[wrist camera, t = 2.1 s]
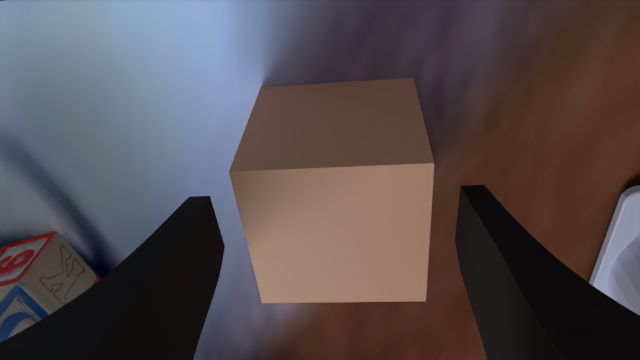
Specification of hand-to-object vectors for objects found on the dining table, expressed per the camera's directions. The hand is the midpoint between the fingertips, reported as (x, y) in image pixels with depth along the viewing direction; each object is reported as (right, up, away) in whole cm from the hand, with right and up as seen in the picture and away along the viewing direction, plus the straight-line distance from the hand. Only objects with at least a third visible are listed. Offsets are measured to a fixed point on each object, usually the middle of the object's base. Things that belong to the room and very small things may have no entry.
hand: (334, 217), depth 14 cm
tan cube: (0, +2, +3) cm, 4 cm away
